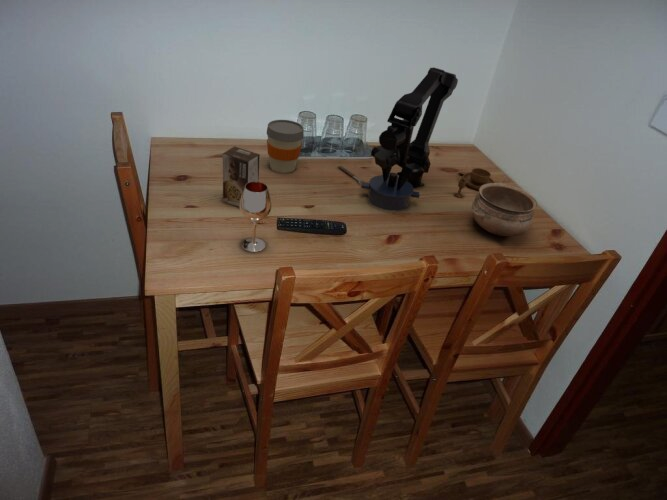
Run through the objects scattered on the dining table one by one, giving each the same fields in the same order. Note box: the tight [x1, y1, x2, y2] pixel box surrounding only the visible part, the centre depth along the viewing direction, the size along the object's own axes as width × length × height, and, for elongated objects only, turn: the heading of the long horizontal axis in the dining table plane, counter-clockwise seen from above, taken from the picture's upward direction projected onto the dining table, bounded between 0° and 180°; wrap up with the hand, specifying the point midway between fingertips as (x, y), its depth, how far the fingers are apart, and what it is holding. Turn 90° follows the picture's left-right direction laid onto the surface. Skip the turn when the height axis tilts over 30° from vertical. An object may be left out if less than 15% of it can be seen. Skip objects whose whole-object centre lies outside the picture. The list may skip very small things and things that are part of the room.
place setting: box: [454, 167, 496, 198], centre depth 185 cm, size 18×20×6 cm
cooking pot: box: [470, 182, 538, 237], centre depth 159 cm, size 25×19×12 cm
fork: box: [337, 165, 362, 185], centre depth 179 cm, size 15×2×8 cm, turn 37°
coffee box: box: [222, 146, 261, 208], centre depth 152 cm, size 9×6×16 cm
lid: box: [368, 172, 415, 198], centre depth 164 cm, size 15×15×5 cm
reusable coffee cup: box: [266, 119, 305, 174], centre depth 175 cm, size 13×13×15 cm
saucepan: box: [361, 181, 420, 212], centre depth 167 cm, size 14×19×6 cm
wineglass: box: [238, 181, 272, 253], centre depth 133 cm, size 8×8×18 cm
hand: (391, 185), depth 165 cm, fingers open, 6 cm apart
